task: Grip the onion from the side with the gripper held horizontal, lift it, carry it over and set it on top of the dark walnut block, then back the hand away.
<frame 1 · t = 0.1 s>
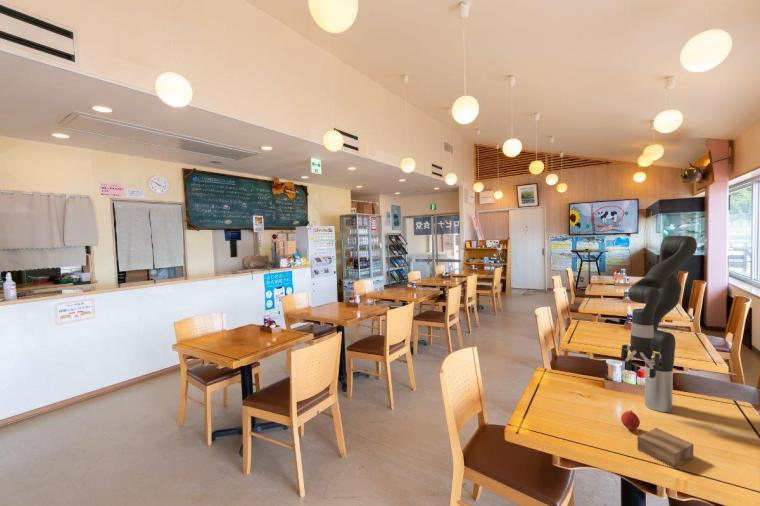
hand: (640, 373, 144), 17 cm above the table, tool pointing down, fingers open, 8 cm apart
onion: (630, 430, 135), on the table
walnut block: (664, 454, 120), on the table
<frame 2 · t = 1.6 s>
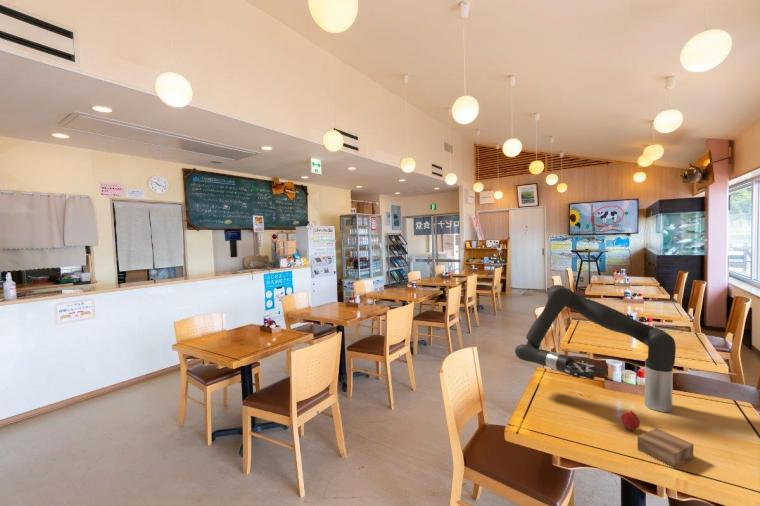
hand: (599, 374, 142), 18 cm above the table, tool horizontal, fingers open, 8 cm apart
nothing on the table moved.
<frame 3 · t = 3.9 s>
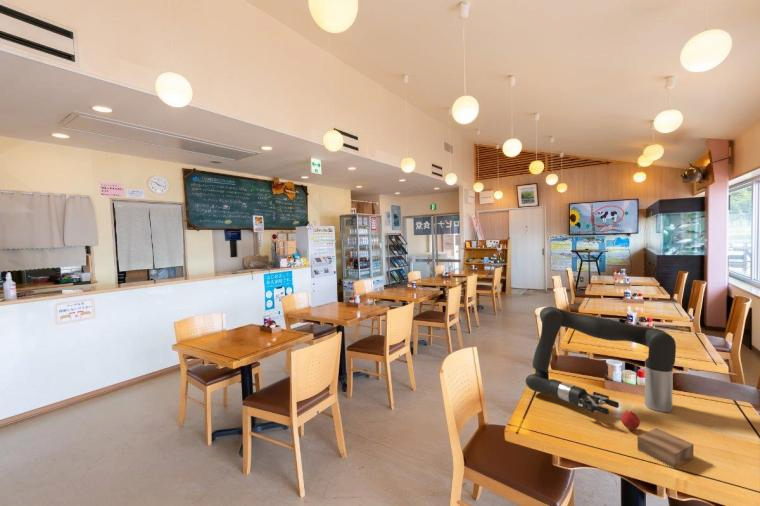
hand: (613, 408, 139), 6 cm above the table, tool horizontal, fingers open, 8 cm apart
nothing on the table moved.
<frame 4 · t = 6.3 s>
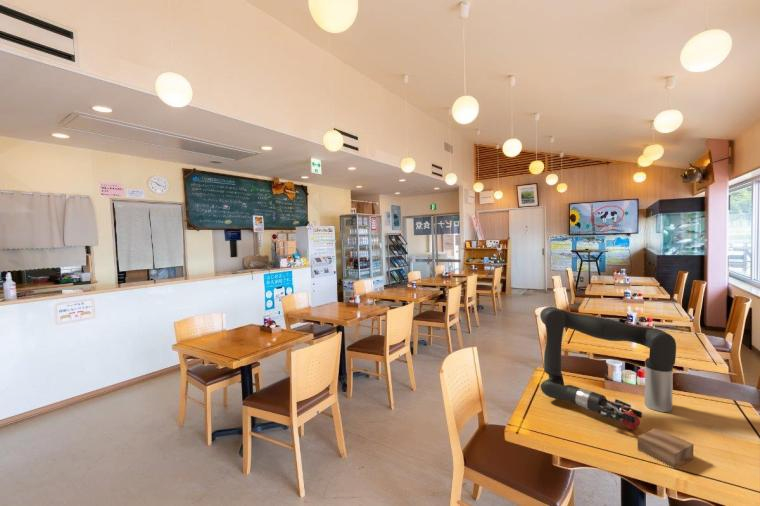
hand: (638, 417, 132), 6 cm above the table, tool horizontal, fingers closed on onion, 5 cm apart
onion: (630, 430, 135), on the table, touching gripper
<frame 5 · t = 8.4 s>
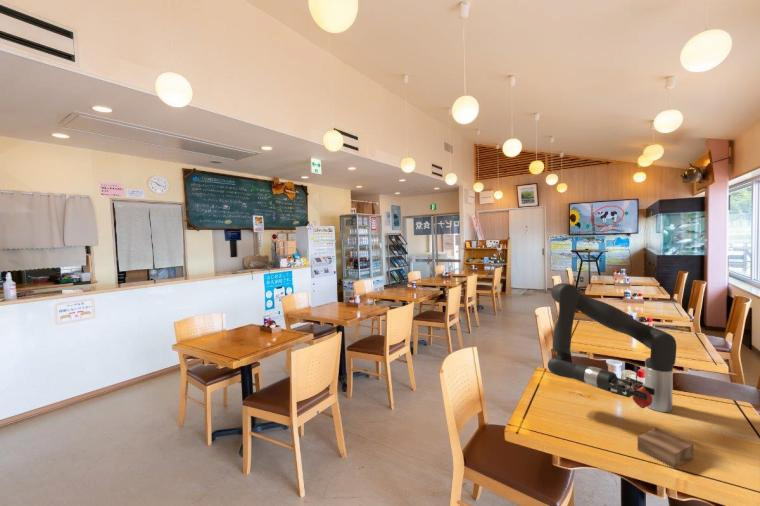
hand: (650, 394, 126), 18 cm above the table, tool horizontal, fingers closed on onion, 5 cm apart
onion: (642, 408, 128), point 12 cm above the table, touching gripper
when the fingers open (12 cm above the table, at t = 10.8 s): onion drops 1 cm, resting on walnut block.
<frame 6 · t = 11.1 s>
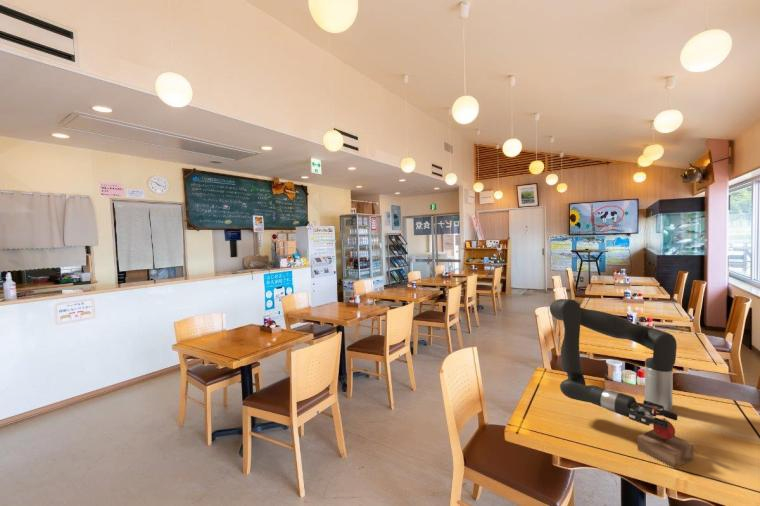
hand: (672, 421, 117), 13 cm above the table, tool horizontal, fingers open, 7 cm apart
onion: (664, 440, 120), point 5 cm above the table, touching walnut block
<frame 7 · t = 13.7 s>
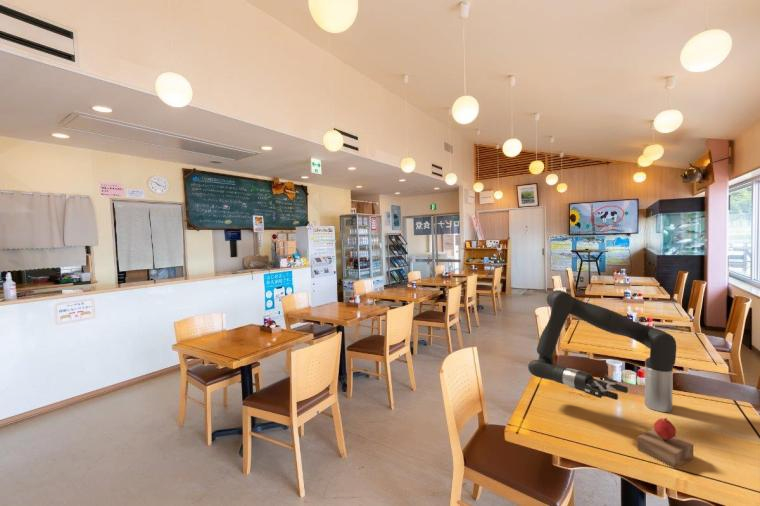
hand: (622, 393, 131), 16 cm above the table, tool horizontal, fingers open, 8 cm apart
nothing on the table moved.
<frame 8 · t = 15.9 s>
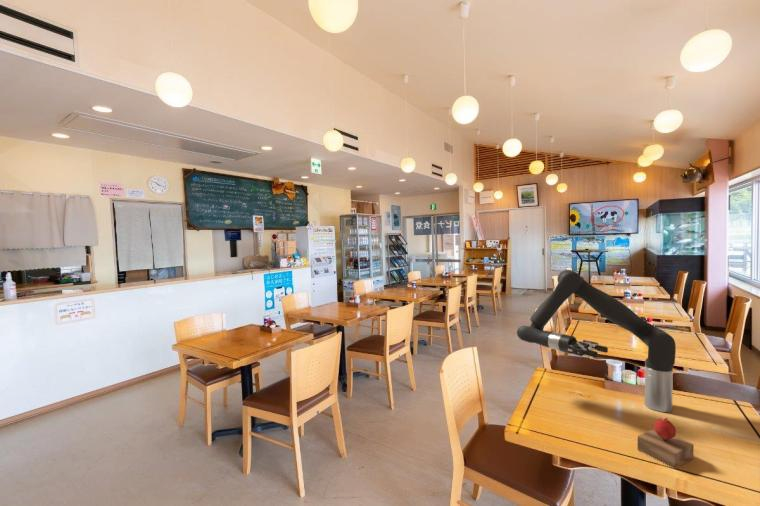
hand: (602, 352, 140), 28 cm above the table, tool horizontal, fingers open, 8 cm apart
nothing on the table moved.
at the end: onion inside the target area on the walnut block (0.2 cm from its centre), point 4.8 cm above the walnut block's base; onion touching walnut block; the gripper is holding nothing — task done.
